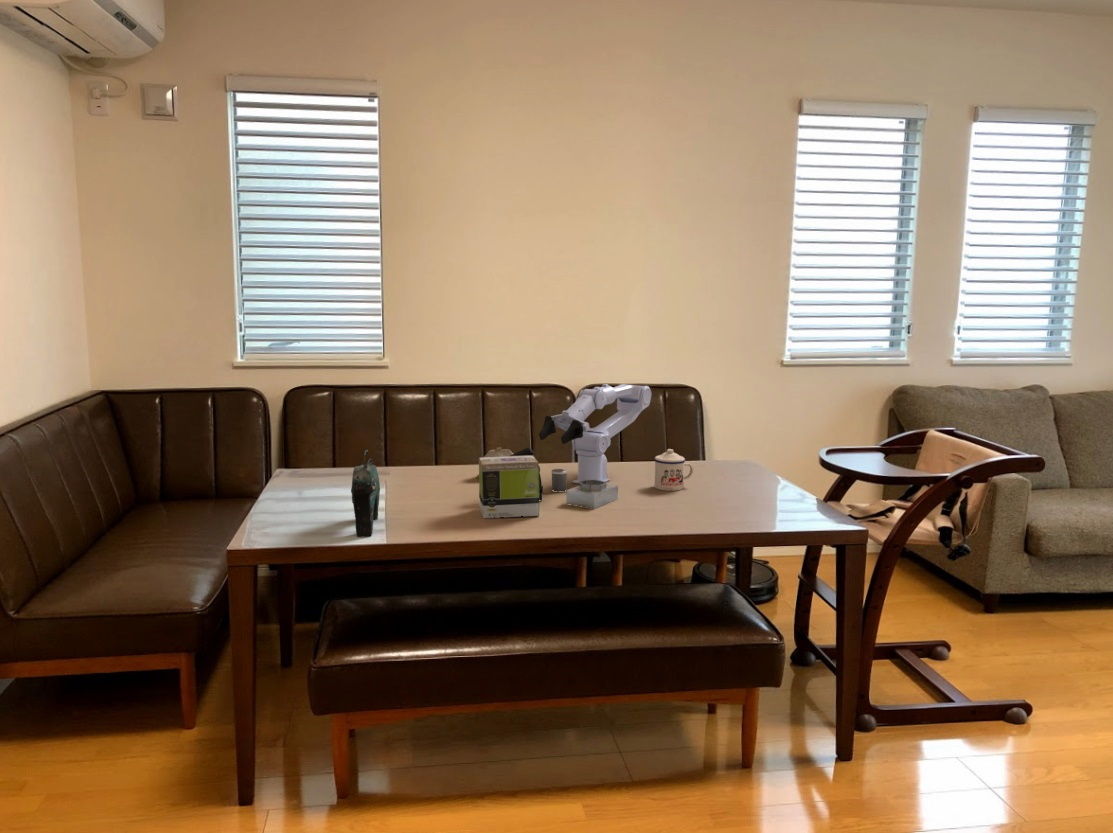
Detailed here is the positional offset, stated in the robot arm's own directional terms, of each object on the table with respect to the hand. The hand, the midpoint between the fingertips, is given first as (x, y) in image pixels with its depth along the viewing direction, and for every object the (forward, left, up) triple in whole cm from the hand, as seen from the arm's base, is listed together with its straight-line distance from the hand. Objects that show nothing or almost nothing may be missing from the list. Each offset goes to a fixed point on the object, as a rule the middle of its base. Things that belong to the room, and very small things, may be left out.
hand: (551, 438), depth 249 cm
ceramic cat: (+54, -19, -17) cm, 60 cm away
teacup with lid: (-29, +25, -17) cm, 42 cm away
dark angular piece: (+10, -4, -17) cm, 20 cm away
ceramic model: (-9, -25, -17) cm, 32 cm away
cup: (-6, -1, -16) cm, 18 cm away
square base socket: (0, +14, -16) cm, 21 cm away
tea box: (+23, +2, -17) cm, 29 cm away
